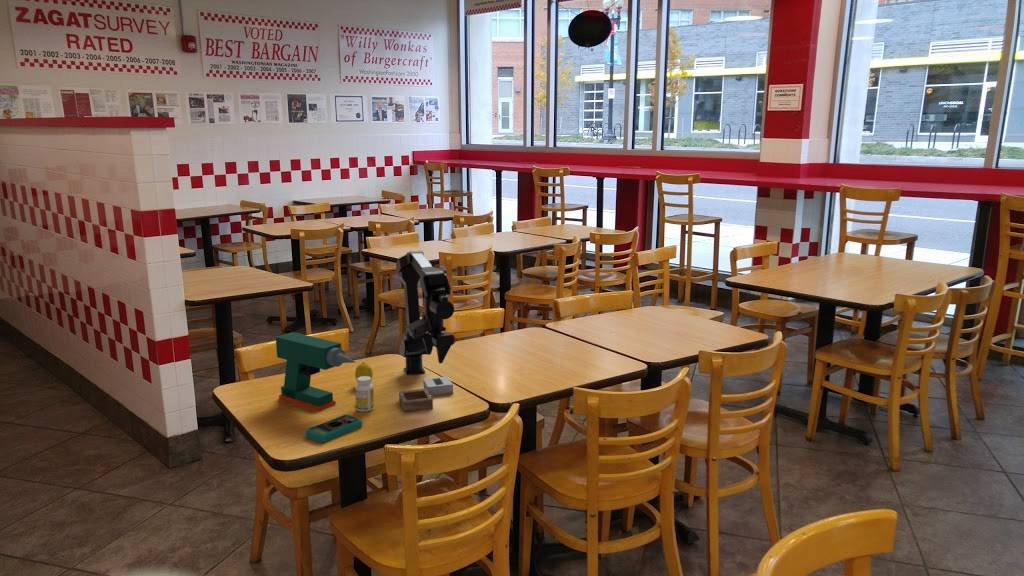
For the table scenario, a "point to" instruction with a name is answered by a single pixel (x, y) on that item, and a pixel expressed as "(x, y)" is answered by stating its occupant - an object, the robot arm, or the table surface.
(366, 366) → the lemon
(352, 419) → the digital multimeter
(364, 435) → the table surface
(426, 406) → the walnut socket block
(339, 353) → the power tool
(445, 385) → the grey slot block
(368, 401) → the supplement bottle
